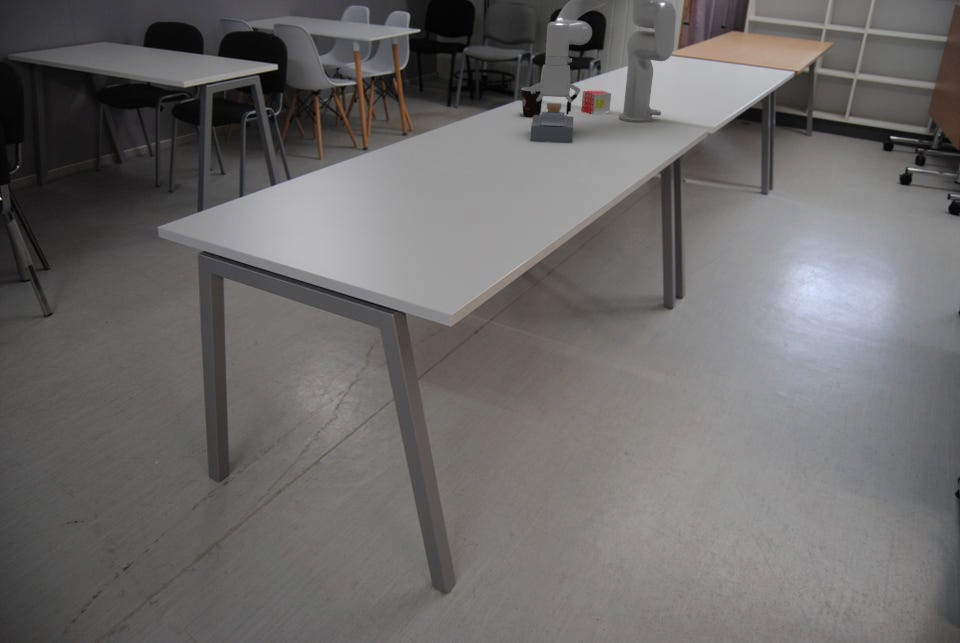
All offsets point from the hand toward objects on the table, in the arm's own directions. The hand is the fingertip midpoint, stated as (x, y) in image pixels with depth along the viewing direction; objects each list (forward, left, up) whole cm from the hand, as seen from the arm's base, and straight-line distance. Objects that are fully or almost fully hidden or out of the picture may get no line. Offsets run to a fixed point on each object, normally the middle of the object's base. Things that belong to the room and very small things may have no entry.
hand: (553, 113), depth 257 cm
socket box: (0, +3, -7) cm, 8 cm away
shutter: (0, +8, -2) cm, 8 cm away
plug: (0, 0, -7) cm, 7 cm away
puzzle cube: (-16, -41, -7) cm, 45 cm away
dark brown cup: (+9, -31, -7) cm, 33 cm away
